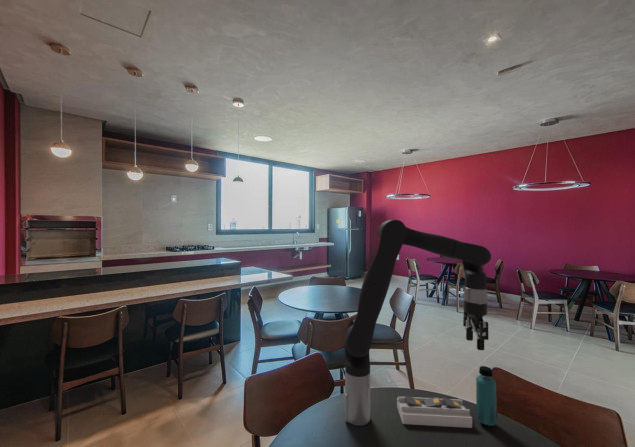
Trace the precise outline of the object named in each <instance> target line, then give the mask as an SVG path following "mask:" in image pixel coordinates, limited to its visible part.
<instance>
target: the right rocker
mask: <svg viewBox="0 0 635 447" xmlns="http://www.w3.org/2000/svg"><path fill="white" fill-rule="evenodd" d="M442 399H443V401H444V403H445V405H446V406H447V407H449V408H454V409H462V408H461V407H460V405H459V404H458V402H457V401H454V400H451V399H452V398H447V397H444V396H443V397H442Z"/></svg>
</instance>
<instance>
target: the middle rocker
mask: <svg viewBox="0 0 635 447" xmlns="http://www.w3.org/2000/svg"><path fill="white" fill-rule="evenodd" d="M428 398H429V399H425V400H424V403H425V405H426V407H435V408H438V407H442V405H441V403H440V401H439V399H440V398H439V397H438V396H436V397H435V396H434V397H428ZM438 398H439V399H438Z"/></svg>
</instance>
